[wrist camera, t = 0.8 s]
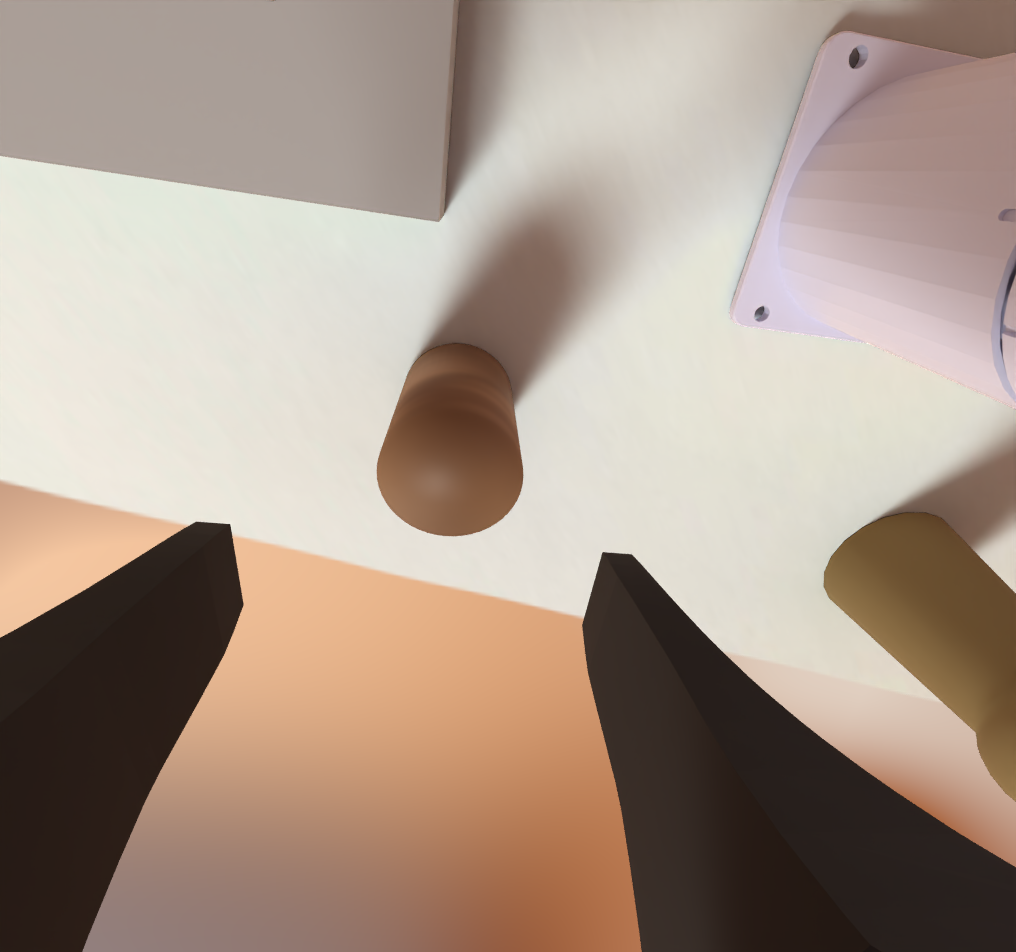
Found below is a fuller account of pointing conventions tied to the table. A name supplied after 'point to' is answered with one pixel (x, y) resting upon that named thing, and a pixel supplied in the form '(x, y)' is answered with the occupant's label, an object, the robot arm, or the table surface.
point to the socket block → (239, 95)
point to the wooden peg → (452, 444)
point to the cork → (938, 622)
